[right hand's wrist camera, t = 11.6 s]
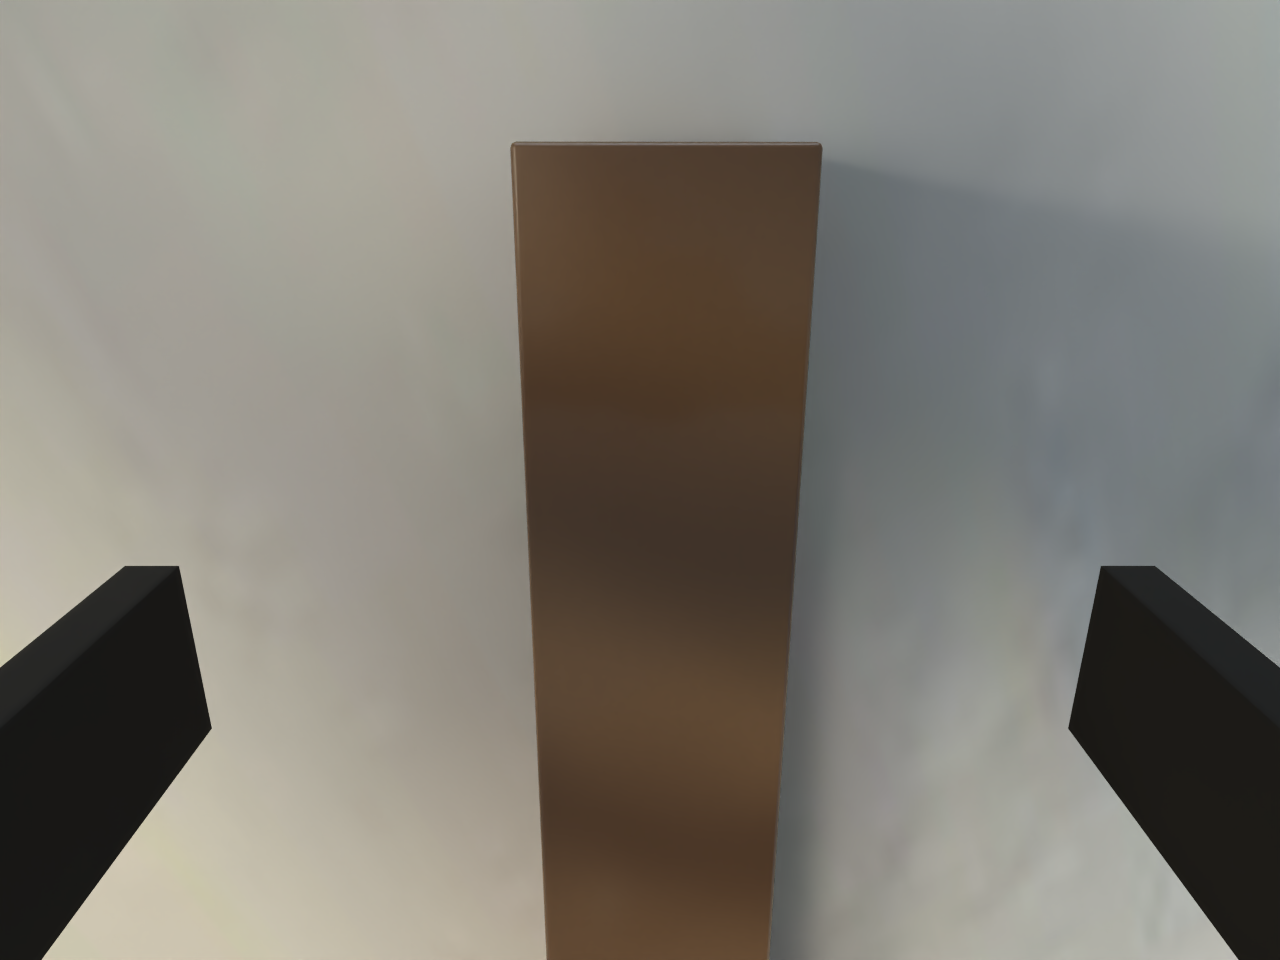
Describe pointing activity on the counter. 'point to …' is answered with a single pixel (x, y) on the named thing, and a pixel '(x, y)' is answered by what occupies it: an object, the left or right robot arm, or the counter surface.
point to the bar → (662, 528)
